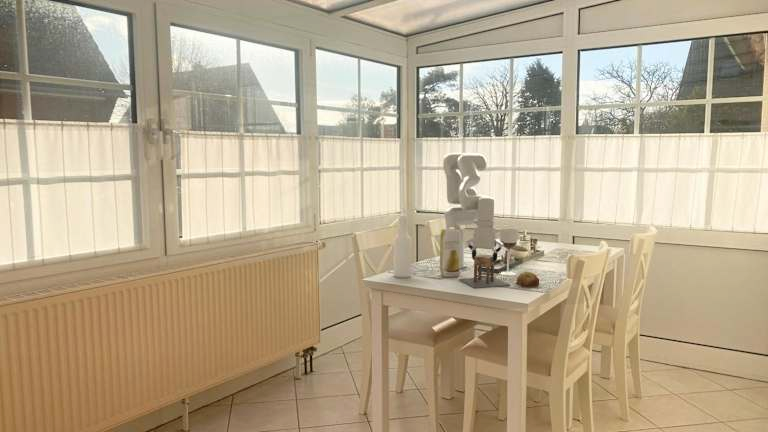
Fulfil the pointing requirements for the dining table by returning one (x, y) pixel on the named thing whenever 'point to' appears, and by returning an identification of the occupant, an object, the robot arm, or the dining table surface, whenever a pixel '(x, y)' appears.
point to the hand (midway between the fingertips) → (484, 260)
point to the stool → (484, 261)
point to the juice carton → (450, 252)
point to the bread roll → (527, 280)
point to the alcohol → (402, 250)
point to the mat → (483, 283)
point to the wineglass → (508, 243)
